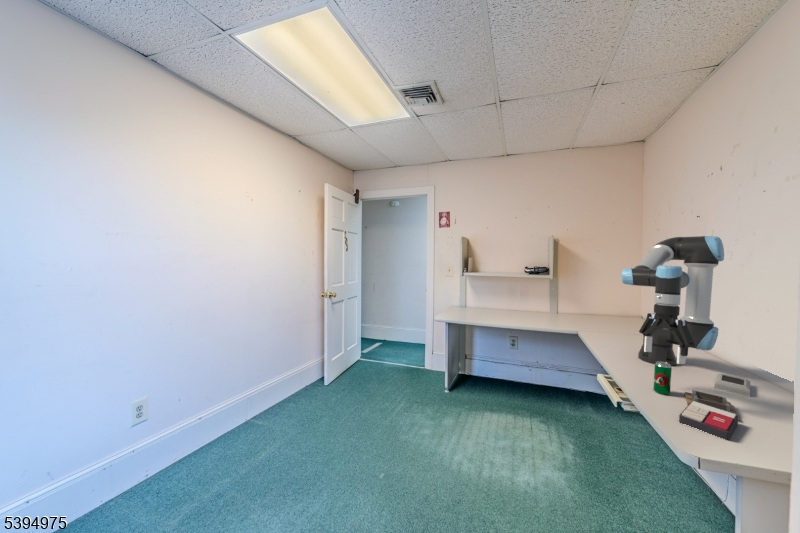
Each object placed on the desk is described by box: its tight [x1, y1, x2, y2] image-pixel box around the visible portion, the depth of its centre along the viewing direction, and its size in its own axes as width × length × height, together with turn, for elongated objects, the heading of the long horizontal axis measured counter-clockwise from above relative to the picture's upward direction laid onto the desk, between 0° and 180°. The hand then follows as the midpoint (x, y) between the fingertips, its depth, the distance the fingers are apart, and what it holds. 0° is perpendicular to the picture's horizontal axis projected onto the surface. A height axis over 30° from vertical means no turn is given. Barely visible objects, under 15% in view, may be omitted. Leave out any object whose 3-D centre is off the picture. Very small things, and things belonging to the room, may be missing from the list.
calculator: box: [678, 401, 739, 441], centre depth 95 cm, size 11×4×15 cm
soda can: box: [653, 361, 673, 396], centre depth 117 cm, size 5×5×12 cm
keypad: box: [714, 373, 751, 397], centre depth 123 cm, size 10×4×15 cm
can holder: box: [684, 389, 740, 423], centre depth 106 cm, size 15×12×3 cm
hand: (663, 357), depth 116 cm, fingers open, 13 cm apart
